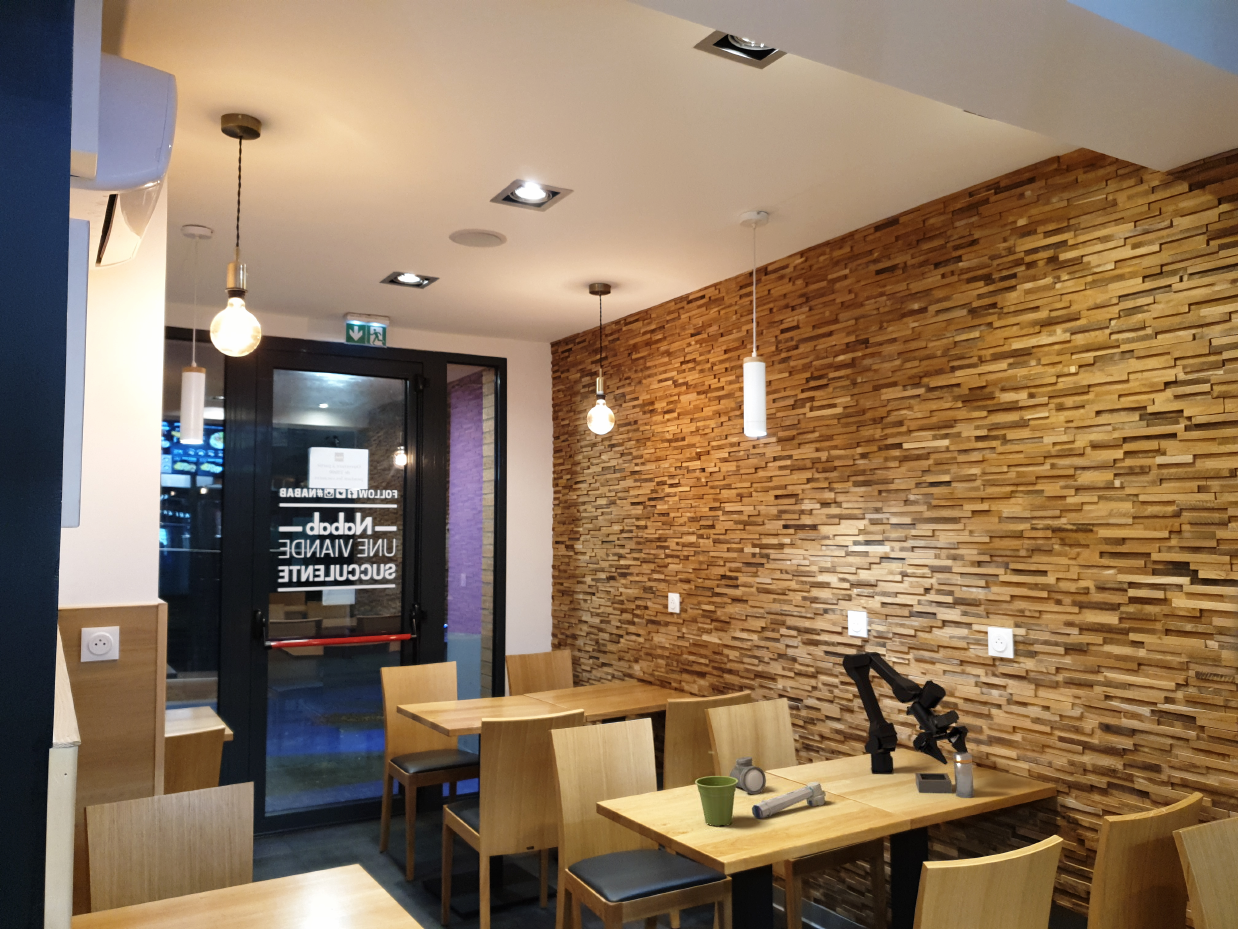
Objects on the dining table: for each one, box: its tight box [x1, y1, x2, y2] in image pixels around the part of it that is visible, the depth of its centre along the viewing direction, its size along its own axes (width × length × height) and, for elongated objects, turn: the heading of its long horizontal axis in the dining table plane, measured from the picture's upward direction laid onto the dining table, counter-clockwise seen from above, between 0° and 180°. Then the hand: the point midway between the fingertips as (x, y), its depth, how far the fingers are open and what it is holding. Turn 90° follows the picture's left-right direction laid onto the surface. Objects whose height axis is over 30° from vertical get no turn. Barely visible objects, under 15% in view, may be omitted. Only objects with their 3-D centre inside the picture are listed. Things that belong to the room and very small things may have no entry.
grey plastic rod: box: [751, 781, 826, 820], centre depth 262 cm, size 5×7×25 cm
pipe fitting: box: [728, 756, 767, 795], centre depth 285 cm, size 12×8×10 cm, turn 21°
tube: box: [952, 751, 975, 799], centre depth 270 cm, size 5×5×12 cm
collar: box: [914, 772, 953, 794], centre depth 278 cm, size 9×9×4 cm
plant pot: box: [694, 775, 738, 827], centre depth 253 cm, size 12×12×11 cm
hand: (957, 761), depth 272 cm, fingers open, 9 cm apart
